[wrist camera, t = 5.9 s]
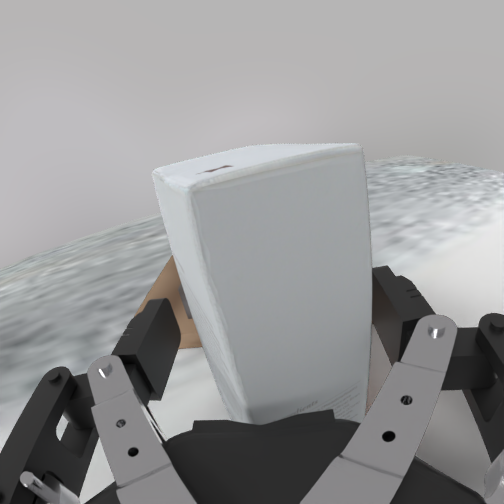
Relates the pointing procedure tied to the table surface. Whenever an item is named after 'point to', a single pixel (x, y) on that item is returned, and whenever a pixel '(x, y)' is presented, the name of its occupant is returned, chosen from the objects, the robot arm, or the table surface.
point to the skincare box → (276, 274)
